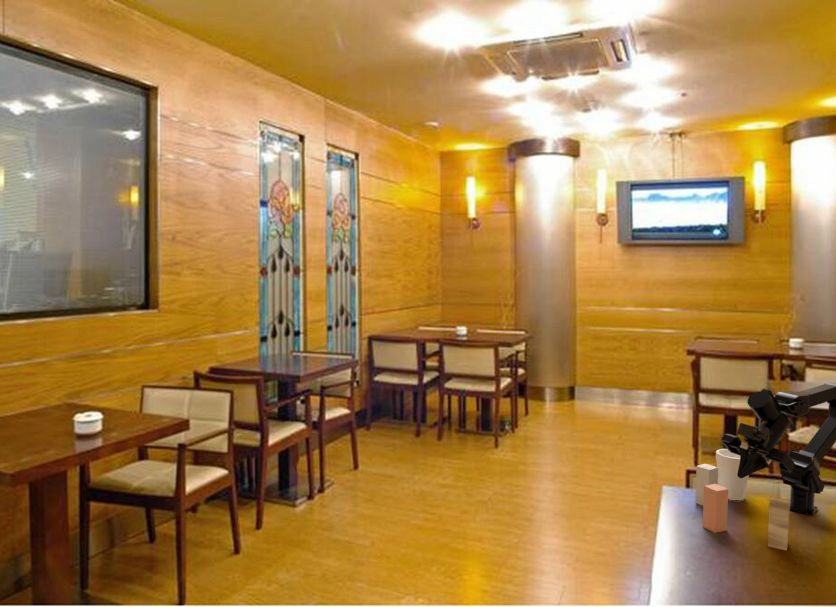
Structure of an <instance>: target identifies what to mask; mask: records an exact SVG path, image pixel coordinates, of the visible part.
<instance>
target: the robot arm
mask: <svg viewBox="0 0 836 607" xmlns="http://www.w3.org/2000/svg"><path fill="white" fill-rule="evenodd" d="M825 403H827V404H828V414H829V415H828V417H827V418H826V419H825V421H824V422H823V424H821V426H820V427H819V428H818V430H816V432H815V434H813V437H811V439H810V440H809V441H808V443H807V444H806V446H805V447H804V448H803V450H802V451H799V452H796V451H794V450H793V451H790V452H789V453H788V452H787V451H785V450H782V449H778V448H775V447H776V446H778V447H780V446H781V445H782V443H783V442H782V441H781V439H782V437H783V435H785V433H786V432H787V430H792V431H794V430H795V425H794V422H793V421H794V420H793V419H792V418H789V416H792V417H796V418H799V417H802V416H803V415H806V414H808V413H809V411H810V408H812V407H815V406H818V405H821V404H825ZM747 405H748V407H750V409H751V410H752V411H753V413H754V414H755V416H756V418H758V419H759V420H760V421H762V422H761V423H760V425H754V426H753V425H750V424H746V423H743V422H740V423H739V425H738V428H737V431H736V432H735V434H736V435H733V434H730V433H725V434H724V435H722V437H721V438H720V442H721V443H722V444H723V445H724V447H725V449H728V450H729V451H730V452H731V453H734V454H737V455H740V464H739V469H738V474H737V476H738V477H739V478H744V477H746V476H748V475H749V476H750V475H751V474H755V473H756V472H759V471H761V470H763V469H770V468H771V466H770V464H771V463H772V462H775V463H779V464H778V466H779V469H780V475H781V478H782V484H783V485H784V484H785V485H787V486H789V487H790V498H789V501H790V509H789V511H794V512H796V513H797V512H798V513H800V514H806V515H809V516H813V515H814V514H816V512H817V511H818V509H819V507H818V506H816V505H815V494H817V495H818V494H821V493H822V492H823V491H824V488H825V483H824V482H823V480H822V479H821V478H820V474H821V468H820V467H821V466H820V464H821V462H822V461H823V459H824V458H825V457H826V455H827V454H828V453H829V451H830V450H831V448H832V447H833V446H834V445H835V444H836V382H831V381H830V382H829V381H828V382H824V383H823V384H821V385H816V386H814V387H811V388H808V389H804V390H800V391H791V390H790V391H788V390H787V391H786V390H784V391H778V392H776V393H775V395H774V394H773V392H772V390H771V389H767V388H762V389H761V391H756V392H754V393H753V394H751V395H749V397H748V398H747ZM788 415H789V416H788ZM737 435H738V436H737ZM739 435H740V436H741V437H744V438H743V441H745V442H746V443H745V442H743V441H742V440H741V439H740V437H739Z"/></svg>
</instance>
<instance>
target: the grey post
mask: <svg viewBox="0 0 836 607" xmlns="http://www.w3.org/2000/svg"><path fill="white" fill-rule="evenodd" d="M695 476H696V477H695V501H694V503H695V504H696V503H698V504H700V505H699V506H701V505H703V503H704V486H706V485H711V484H717V485H719V479H718V467H717V466H714V465H712V464H708V463H703V464H699V465H696V473H695ZM698 504H697V505H698Z"/></svg>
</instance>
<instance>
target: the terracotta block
mask: <svg viewBox="0 0 836 607" xmlns="http://www.w3.org/2000/svg"><path fill="white" fill-rule="evenodd" d="M728 502H729V500H728V489H727V488H725V487H722V486H720V485H719V484H718V485H717V484H711V485H706V486H704V503H703V506H702V507H703V509H702V528H704V529H706V530H709V531H710V532H712V533H714V534H717V532H718V533H722V532H726V531H727V529H728V528H727V527H728V506H729V504H728Z"/></svg>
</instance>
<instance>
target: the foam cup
mask: <svg viewBox="0 0 836 607" xmlns="http://www.w3.org/2000/svg"><path fill="white" fill-rule="evenodd" d="M715 461H716V467H718V485H720V486H722V487H725V488H727V489H728V499H730V500H729V501H731V500H742V501H744V500H745V497H746V492H747V487H748V481H749V477H750V475H748V476H746V477H744V478H739V477H738V476H737V474H738V469H739V464H740V455H737V454H734V453H731V452H730V451H729V450H728V449H727V448H719V449H717V450H716V451H715ZM743 499H744V500H743Z"/></svg>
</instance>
